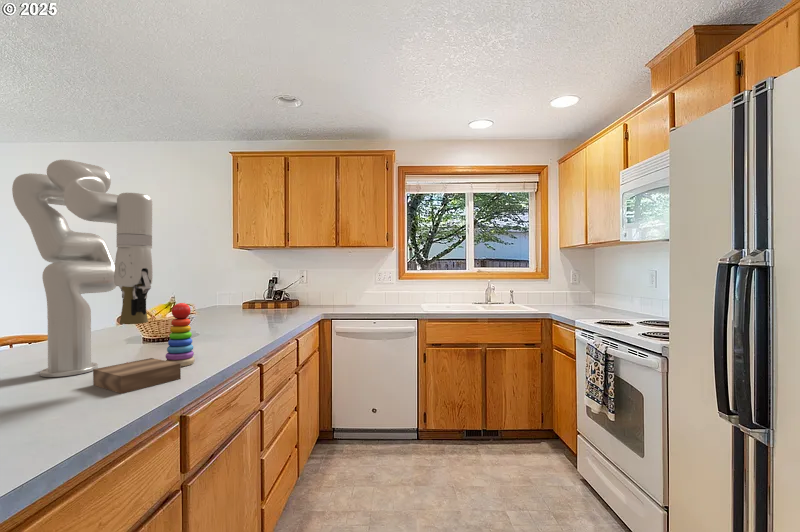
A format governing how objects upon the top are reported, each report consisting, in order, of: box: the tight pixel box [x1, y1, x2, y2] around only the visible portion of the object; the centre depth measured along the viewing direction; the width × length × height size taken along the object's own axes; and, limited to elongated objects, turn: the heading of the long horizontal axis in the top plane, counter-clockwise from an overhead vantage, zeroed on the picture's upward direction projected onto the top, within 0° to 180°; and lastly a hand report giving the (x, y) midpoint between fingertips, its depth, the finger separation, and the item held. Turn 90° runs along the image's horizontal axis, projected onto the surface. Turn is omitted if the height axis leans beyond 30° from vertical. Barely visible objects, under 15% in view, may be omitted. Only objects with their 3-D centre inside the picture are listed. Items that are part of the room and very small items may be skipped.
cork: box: [119, 284, 149, 325], centre depth 100 cm, size 6×6×11 cm
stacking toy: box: [165, 302, 195, 367], centre depth 120 cm, size 8×8×19 cm
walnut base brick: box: [92, 357, 182, 395], centre depth 101 cm, size 14×14×4 cm
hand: (134, 313), depth 100 cm, fingers closed on cork, 3 cm apart
